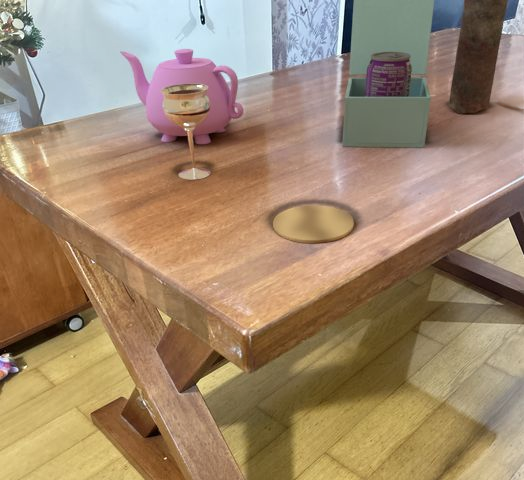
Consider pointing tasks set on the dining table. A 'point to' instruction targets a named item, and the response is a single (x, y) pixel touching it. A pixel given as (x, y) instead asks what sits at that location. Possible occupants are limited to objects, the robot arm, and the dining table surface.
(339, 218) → the coaster
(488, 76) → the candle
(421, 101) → the chest
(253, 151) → the dining table surface
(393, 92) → the beverage can
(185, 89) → the wineglass
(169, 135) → the teapot
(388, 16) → the chest lid
